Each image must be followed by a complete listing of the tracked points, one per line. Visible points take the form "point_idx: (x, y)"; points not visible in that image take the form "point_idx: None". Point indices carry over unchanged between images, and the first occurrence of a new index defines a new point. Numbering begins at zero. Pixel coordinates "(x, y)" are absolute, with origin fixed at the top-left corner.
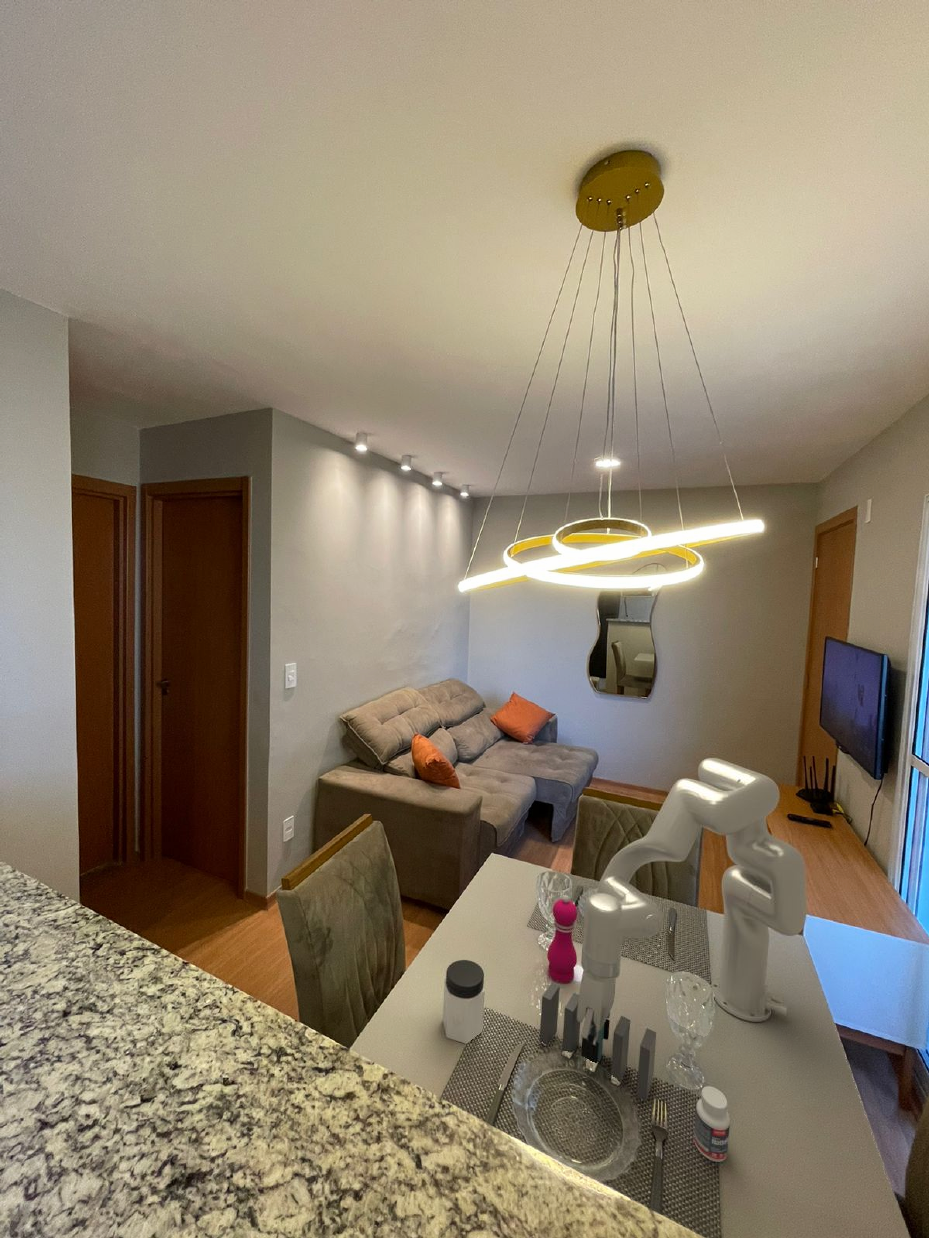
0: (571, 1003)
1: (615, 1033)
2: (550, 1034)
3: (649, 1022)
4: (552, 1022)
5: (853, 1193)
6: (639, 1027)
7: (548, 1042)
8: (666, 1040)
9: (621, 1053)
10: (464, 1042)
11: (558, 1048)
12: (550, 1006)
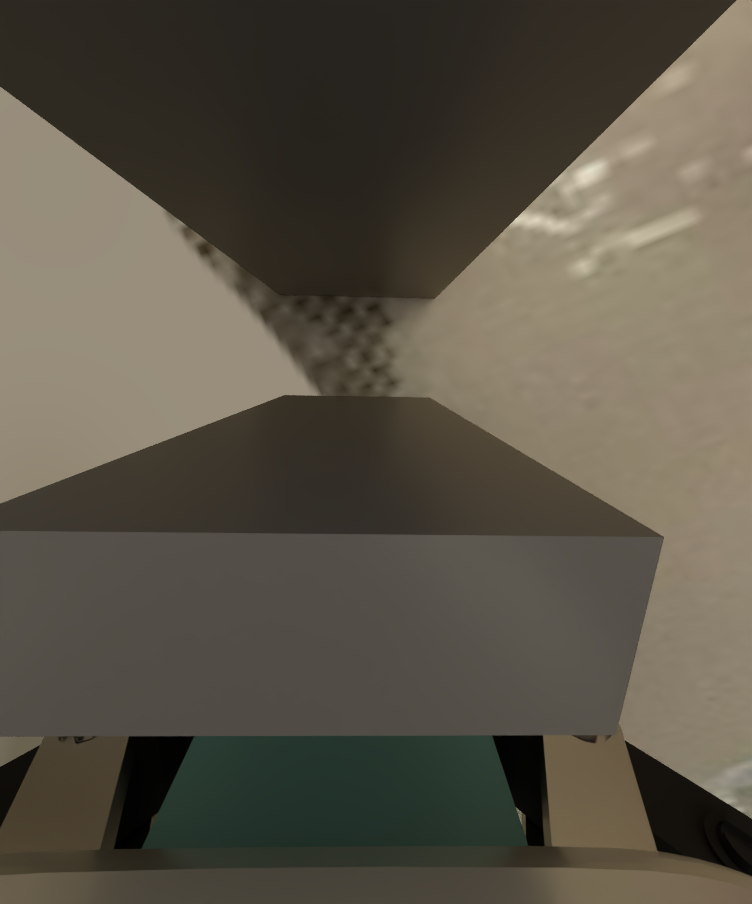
0: (224, 614)
1: None
2: (318, 285)
3: (740, 690)
4: (335, 265)
5: None
6: (687, 663)
7: (294, 292)
8: (660, 761)
9: None
10: None
11: (313, 362)
12: (85, 123)
